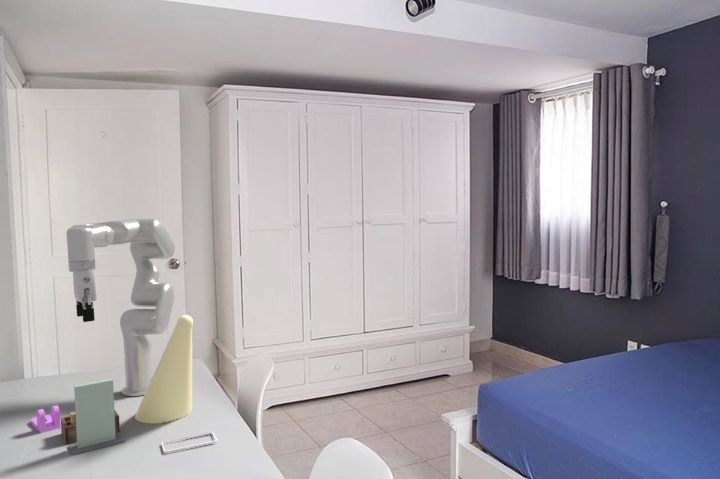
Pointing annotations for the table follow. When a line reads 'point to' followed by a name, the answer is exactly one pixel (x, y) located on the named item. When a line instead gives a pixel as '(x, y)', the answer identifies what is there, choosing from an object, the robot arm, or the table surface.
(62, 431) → the walnut rack
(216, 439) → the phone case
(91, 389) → the green board
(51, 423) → the bracket
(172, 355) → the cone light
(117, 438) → the charcoal mat
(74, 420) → the oak offcut
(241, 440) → the table surface
